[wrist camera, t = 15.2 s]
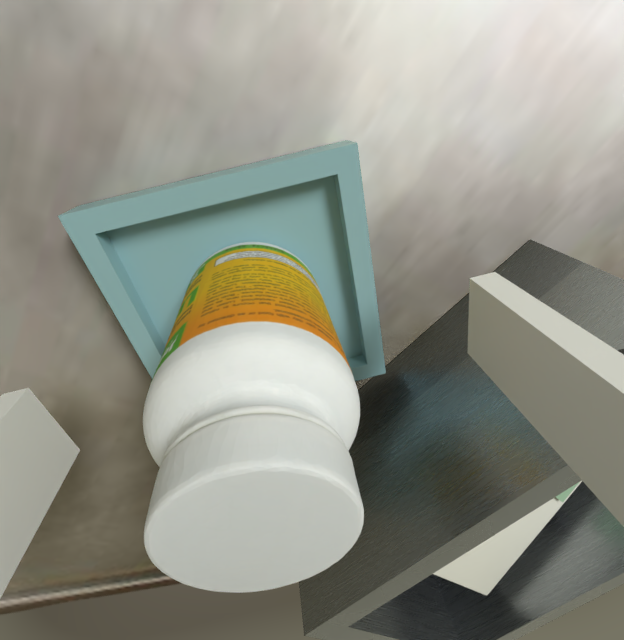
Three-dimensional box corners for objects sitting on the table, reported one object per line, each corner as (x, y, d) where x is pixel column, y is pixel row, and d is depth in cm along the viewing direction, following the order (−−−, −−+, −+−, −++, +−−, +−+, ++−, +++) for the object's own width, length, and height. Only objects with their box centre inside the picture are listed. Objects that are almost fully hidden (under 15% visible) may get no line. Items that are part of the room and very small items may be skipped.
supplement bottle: (183, 233, 13) (56, 439, 5) (326, 243, 14) (437, 427, 6) (191, 354, 16) (120, 627, 7) (311, 355, 16) (372, 597, 8)
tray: (345, 140, 13) (357, 142, 12) (375, 353, 18) (386, 373, 17) (78, 205, 13) (57, 215, 11) (185, 403, 18) (179, 426, 16)
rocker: (519, 359, 15) (563, 380, 14) (580, 423, 18) (622, 447, 17) (384, 526, 16) (409, 568, 14) (464, 563, 19) (494, 601, 17)
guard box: (530, 239, 16) (761, 339, 9) (614, 358, 21) (809, 487, 14) (286, 453, 21) (304, 635, 13) (400, 511, 25) (459, 668, 18)
